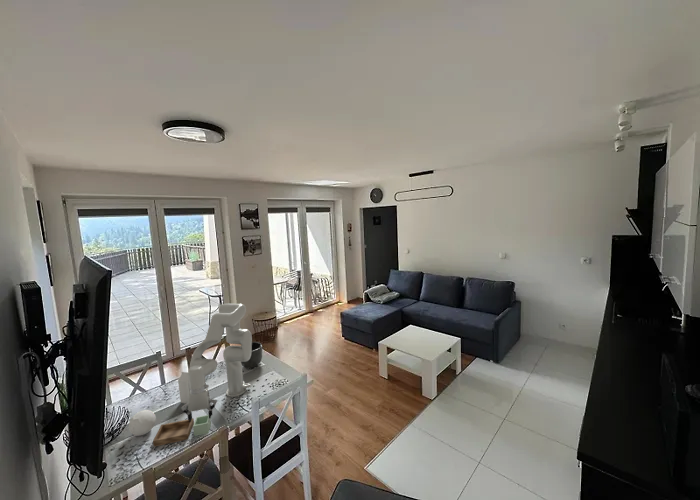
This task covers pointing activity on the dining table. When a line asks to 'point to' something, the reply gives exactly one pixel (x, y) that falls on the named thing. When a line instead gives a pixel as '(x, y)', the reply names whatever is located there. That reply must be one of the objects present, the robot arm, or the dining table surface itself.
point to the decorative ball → (142, 422)
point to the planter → (254, 356)
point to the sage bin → (202, 425)
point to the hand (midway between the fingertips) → (200, 418)
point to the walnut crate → (173, 432)
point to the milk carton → (184, 387)
